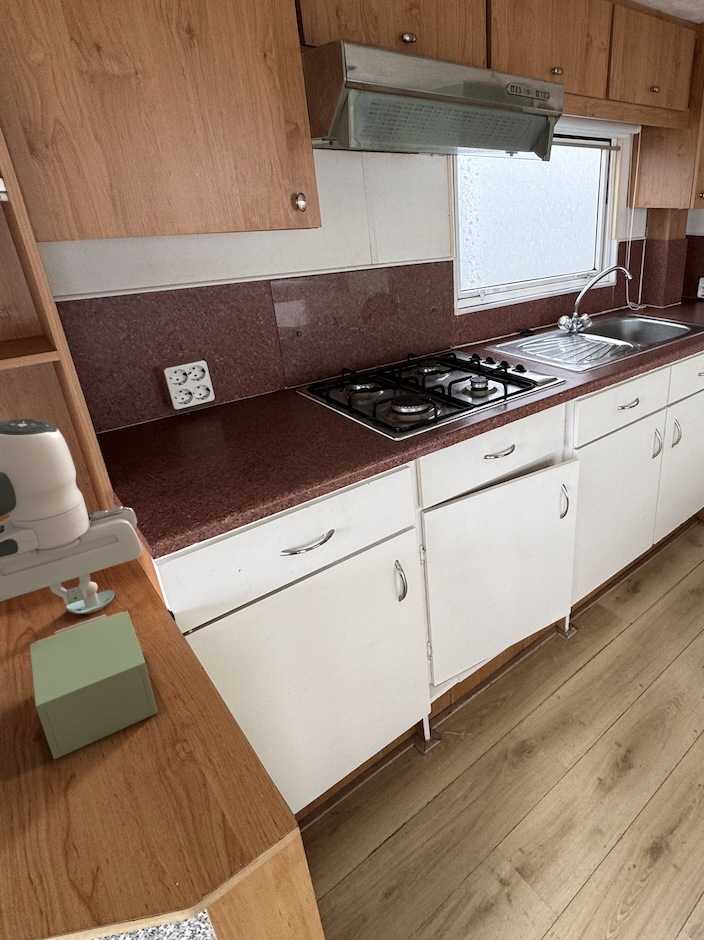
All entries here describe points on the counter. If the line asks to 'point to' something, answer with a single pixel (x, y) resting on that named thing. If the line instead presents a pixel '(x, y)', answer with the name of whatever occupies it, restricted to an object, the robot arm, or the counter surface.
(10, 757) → the counter surface
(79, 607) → the pacifier
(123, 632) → the cabinet
